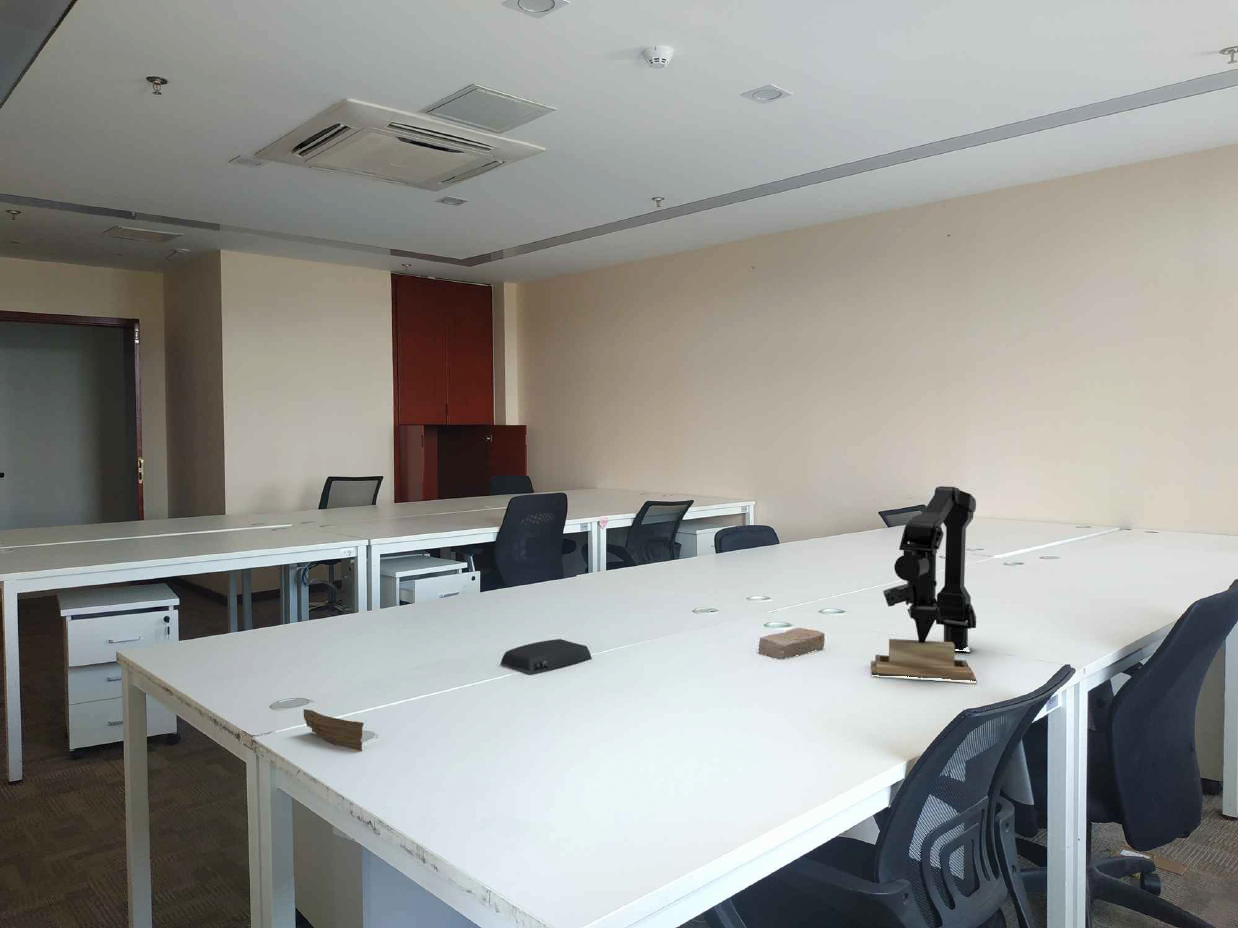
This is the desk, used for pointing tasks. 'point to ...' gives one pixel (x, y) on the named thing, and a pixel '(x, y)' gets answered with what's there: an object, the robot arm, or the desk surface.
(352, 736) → the wood plank
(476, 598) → the desk surface
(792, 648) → the brick
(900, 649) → the oak plank
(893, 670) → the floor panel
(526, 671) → the external hard drive
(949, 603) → the robot arm
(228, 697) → the desk surface
